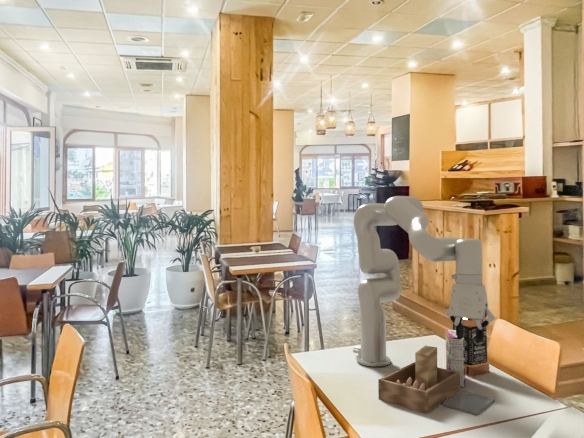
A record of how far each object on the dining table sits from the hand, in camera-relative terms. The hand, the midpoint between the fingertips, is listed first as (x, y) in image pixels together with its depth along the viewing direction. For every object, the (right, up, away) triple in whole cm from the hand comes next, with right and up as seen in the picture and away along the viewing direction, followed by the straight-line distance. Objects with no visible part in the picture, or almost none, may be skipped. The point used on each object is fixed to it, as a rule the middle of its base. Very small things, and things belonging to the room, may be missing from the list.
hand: (469, 339), depth 138 cm
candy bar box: (+2, -19, +19) cm, 27 cm away
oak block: (-10, -19, +11) cm, 24 cm away
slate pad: (0, -19, 0) cm, 19 cm away
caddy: (-13, -19, +7) cm, 24 cm away
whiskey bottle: (+11, -19, +28) cm, 36 cm away
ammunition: (-21, -17, +3) cm, 27 cm away
